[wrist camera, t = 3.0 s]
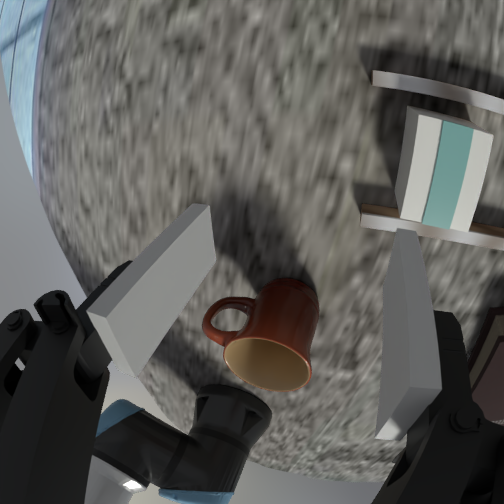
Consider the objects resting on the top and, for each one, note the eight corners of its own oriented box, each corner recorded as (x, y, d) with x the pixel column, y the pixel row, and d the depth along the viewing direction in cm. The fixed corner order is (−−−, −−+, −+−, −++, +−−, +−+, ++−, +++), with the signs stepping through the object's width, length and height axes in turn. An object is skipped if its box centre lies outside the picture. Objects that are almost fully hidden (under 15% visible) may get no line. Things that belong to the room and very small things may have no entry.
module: (394, 191, 26) (400, 219, 22) (407, 104, 22) (419, 114, 17) (452, 203, 25) (468, 234, 20) (470, 121, 20) (494, 135, 16)
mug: (340, 288, 34) (327, 362, 26) (309, 333, 39) (290, 400, 31) (240, 243, 35) (200, 306, 27) (223, 295, 40) (188, 355, 32)
